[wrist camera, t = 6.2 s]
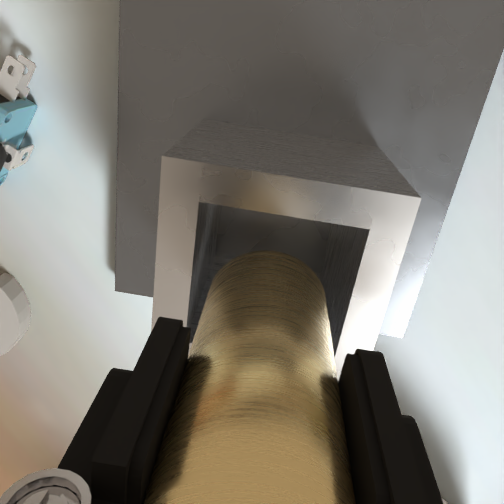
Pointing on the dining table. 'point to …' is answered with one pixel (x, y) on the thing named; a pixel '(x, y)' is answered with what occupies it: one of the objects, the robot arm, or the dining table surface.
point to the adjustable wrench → (12, 312)
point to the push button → (14, 113)
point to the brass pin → (257, 395)
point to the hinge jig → (296, 145)
